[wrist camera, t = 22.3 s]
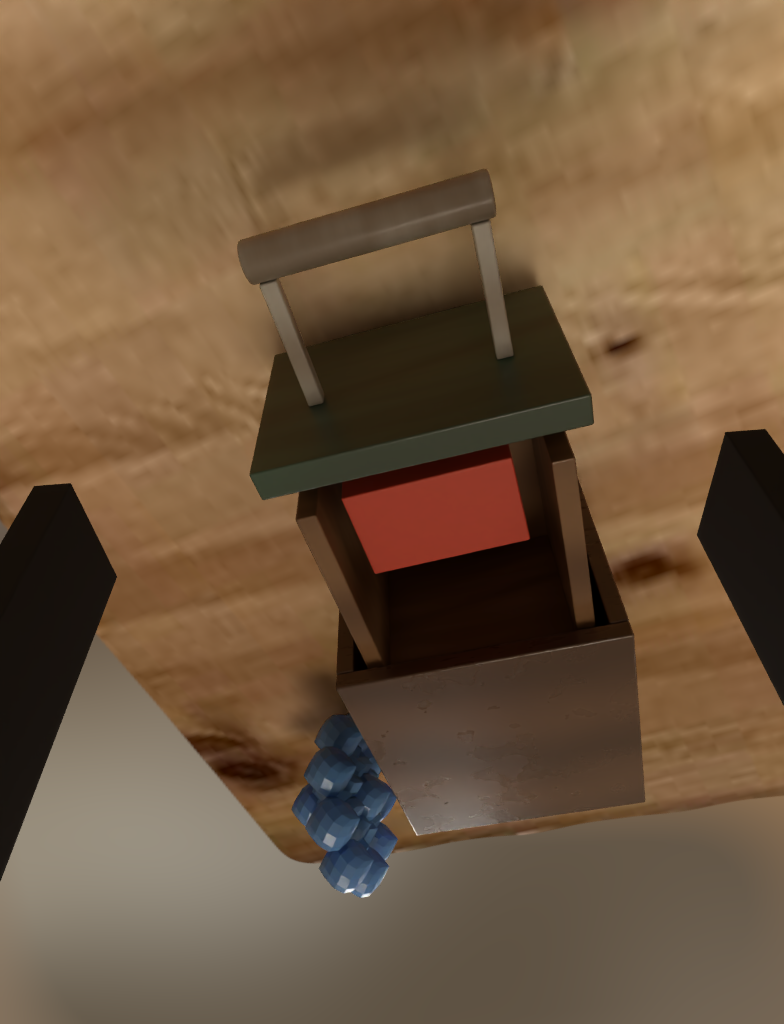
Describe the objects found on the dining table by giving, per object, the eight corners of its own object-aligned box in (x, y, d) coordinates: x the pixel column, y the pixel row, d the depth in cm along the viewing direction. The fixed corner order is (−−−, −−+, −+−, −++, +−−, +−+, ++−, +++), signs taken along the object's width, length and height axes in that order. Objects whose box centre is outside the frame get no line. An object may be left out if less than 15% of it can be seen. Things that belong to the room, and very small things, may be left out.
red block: (490, 371, 29) (512, 457, 25) (508, 449, 32) (531, 540, 27) (345, 410, 30) (340, 499, 26) (374, 482, 33) (374, 574, 28)
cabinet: (342, 530, 38) (335, 689, 30) (578, 479, 36) (634, 634, 28) (409, 684, 47) (416, 836, 39) (599, 650, 45) (645, 802, 37)
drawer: (212, 208, 26) (161, 306, 20) (519, 115, 24) (572, 190, 18) (365, 568, 38) (364, 698, 32) (574, 525, 37) (616, 653, 30)
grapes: (265, 681, 46) (239, 870, 37) (361, 661, 45) (359, 851, 36) (326, 767, 54) (317, 942, 45) (411, 752, 53) (419, 928, 43)
